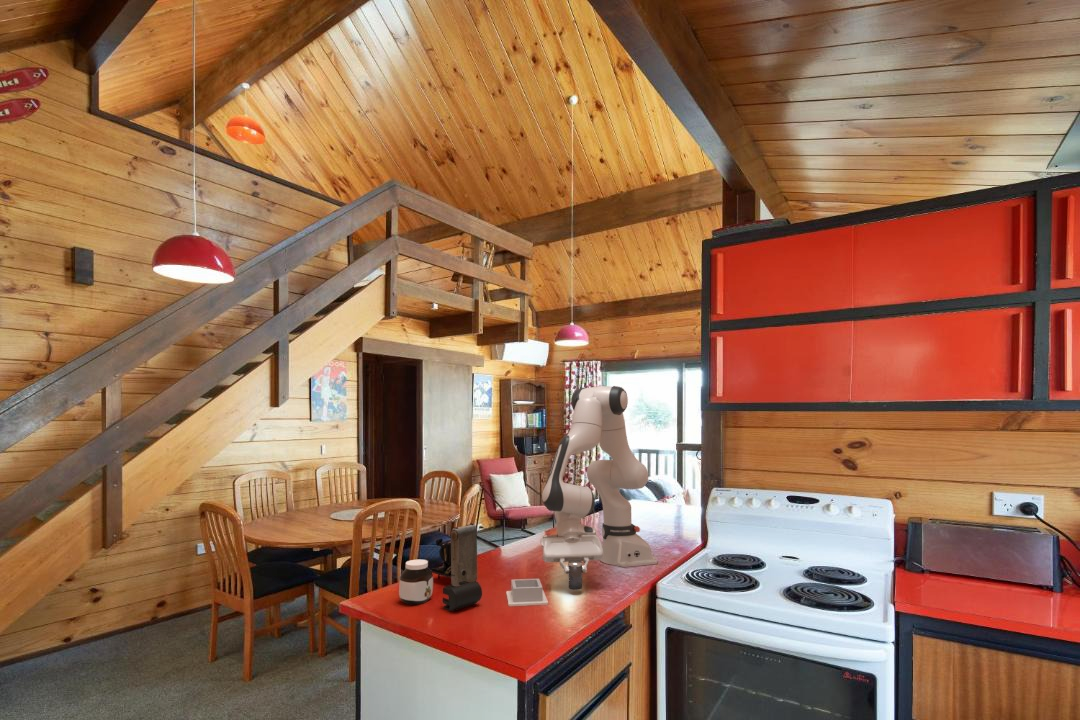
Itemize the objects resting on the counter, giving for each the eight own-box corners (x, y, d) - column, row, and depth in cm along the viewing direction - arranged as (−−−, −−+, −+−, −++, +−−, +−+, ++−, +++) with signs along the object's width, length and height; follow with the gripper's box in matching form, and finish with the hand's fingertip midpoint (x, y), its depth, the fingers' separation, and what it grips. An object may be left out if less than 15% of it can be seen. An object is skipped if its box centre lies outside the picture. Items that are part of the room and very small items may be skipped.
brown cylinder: (581, 585, 177) (580, 560, 178) (583, 589, 173) (583, 564, 173) (567, 585, 177) (567, 560, 177) (569, 590, 172) (569, 564, 173)
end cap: (456, 615, 156) (456, 590, 156) (441, 608, 161) (441, 585, 161) (482, 606, 163) (482, 582, 164) (467, 600, 168) (467, 578, 169)
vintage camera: (446, 576, 194) (445, 519, 196) (478, 582, 185) (477, 523, 187) (426, 583, 186) (425, 524, 188) (458, 590, 177) (457, 528, 179)
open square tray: (543, 591, 176) (543, 577, 176) (548, 604, 164) (548, 588, 164) (506, 593, 174) (506, 578, 175) (508, 606, 163) (508, 590, 163)
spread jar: (412, 608, 161) (413, 568, 162) (386, 601, 167) (387, 562, 168) (440, 596, 171) (441, 559, 172) (415, 590, 177) (416, 553, 178)
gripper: (540, 530, 182) (544, 568, 171) (600, 528, 184) (607, 565, 174) (539, 540, 186) (543, 578, 175) (597, 538, 188) (604, 575, 178)
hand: (575, 572), depth 174 cm, fingers closed on brown cylinder, 4 cm apart
